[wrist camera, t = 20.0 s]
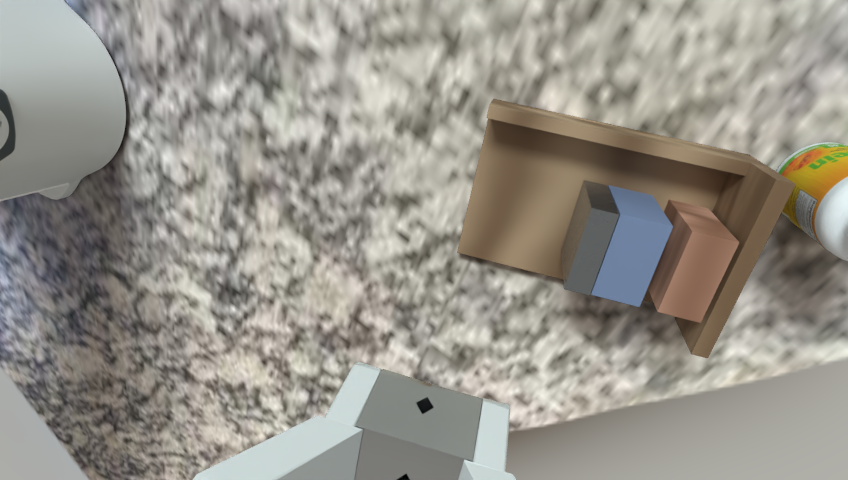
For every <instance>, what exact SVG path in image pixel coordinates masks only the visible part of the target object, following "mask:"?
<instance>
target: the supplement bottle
mask: <svg viewBox="0 0 848 480" xmlns="http://www.w3.org/2000/svg"><path fill="white" fill-rule="evenodd" d="M776 172H777V173H779V174H781V175H782V176H784V177H785V178H787V179H789V180H790V181H792V182H793V183H795V184H796V185H795V187H794V188H793V190H792V192H791V194H790V196H789V198H788V200H787V202H786V204H785V206H784V208H783V210H782V212H781V213H782V214H783V215H784V216H785V217H786V218H787V219H788V220H790V221H791V222H792V223H794V224H795V225H796V226H797V227H799V228H800V229H801V230H803V231H804V232H805V233H806V234H808V235H809V236H810V237H811V238H813V239H814V240H815V241H816V242H818V243H819V244H820V245H821V246H823V247H824V248H825V249H826V250H828V251H829V252H831V253H832V254H834V255H835V256H837V257H839V258H841V259H843V260H845V261H848V146H846V145H843V144H838V143H818V144H813V145H810V146H807V147H804V148H802V149H800V150H798V151H796V152H795V153H793V154H792V155H790V156H789V157H788V158H787V159H786V160H784V161H783V163H782V164H781V165H780V166H779V168H778V169H777V171H776Z"/></svg>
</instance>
